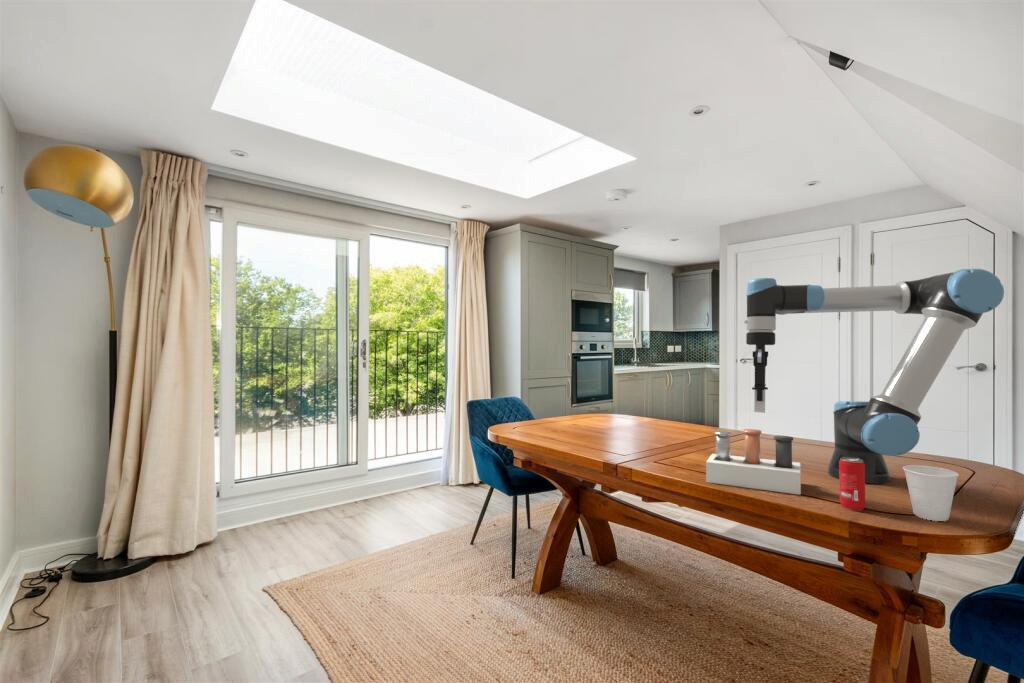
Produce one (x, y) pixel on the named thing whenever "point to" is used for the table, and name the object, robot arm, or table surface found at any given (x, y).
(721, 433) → the plug grey
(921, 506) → the cup
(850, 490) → the beverage can
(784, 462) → the plug black
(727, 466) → the socket board
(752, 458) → the plug rust
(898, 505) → the table surface
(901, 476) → the table surface
